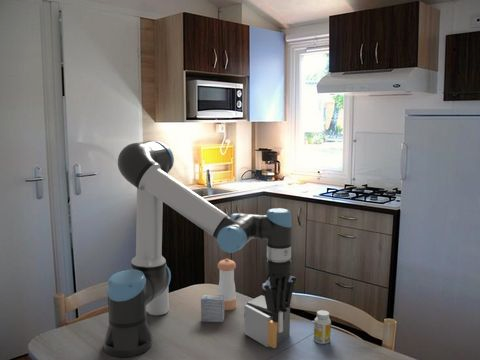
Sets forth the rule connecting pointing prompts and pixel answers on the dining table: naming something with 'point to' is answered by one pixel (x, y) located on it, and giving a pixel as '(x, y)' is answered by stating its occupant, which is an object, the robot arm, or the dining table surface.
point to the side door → (260, 327)
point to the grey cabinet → (260, 305)
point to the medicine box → (212, 308)
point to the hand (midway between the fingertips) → (278, 330)
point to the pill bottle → (159, 304)
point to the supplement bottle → (322, 327)
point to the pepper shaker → (227, 283)
